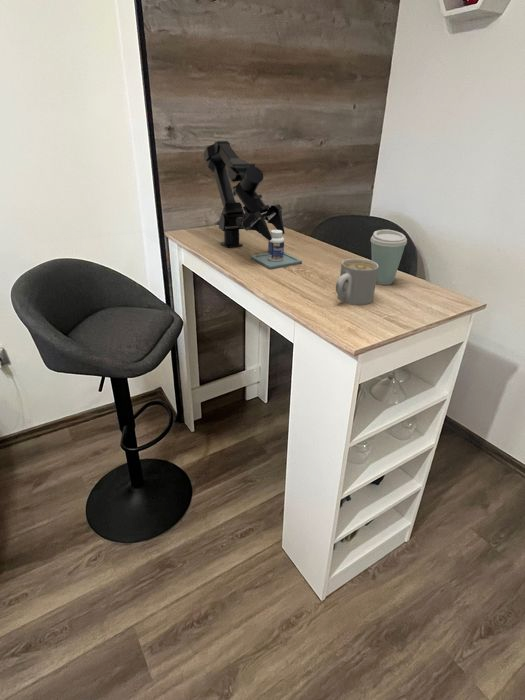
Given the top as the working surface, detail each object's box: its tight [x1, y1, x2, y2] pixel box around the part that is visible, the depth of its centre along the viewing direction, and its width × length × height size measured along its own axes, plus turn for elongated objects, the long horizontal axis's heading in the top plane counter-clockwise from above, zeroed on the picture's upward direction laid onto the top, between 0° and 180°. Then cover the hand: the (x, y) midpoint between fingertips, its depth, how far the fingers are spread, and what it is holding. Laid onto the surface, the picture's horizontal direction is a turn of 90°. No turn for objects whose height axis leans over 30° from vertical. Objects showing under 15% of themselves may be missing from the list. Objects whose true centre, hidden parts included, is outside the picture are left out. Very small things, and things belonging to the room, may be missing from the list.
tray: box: [250, 251, 303, 270], centre depth 147 cm, size 13×13×1 cm
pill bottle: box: [267, 229, 285, 261], centre depth 145 cm, size 5×5×10 cm
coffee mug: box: [335, 258, 379, 306], centre depth 117 cm, size 13×10×10 cm
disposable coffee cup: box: [369, 229, 408, 286], centre depth 129 cm, size 11×11×15 cm
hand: (277, 236), depth 143 cm, fingers open, 9 cm apart
